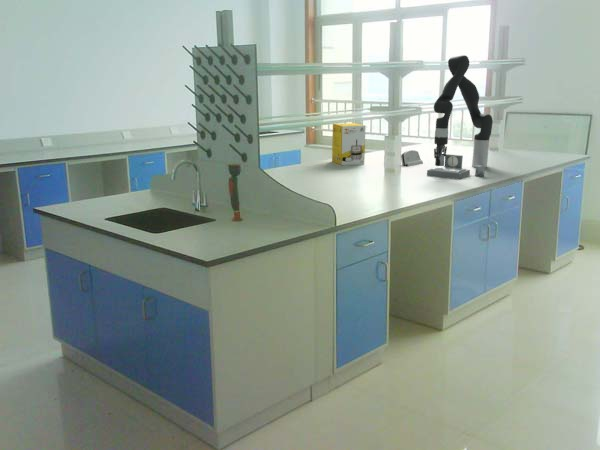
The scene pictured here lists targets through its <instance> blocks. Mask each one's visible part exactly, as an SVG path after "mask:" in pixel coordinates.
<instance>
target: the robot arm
mask: <svg viewBox="0 0 600 450" xmlns="http://www.w3.org/2000/svg"><path fill="white" fill-rule="evenodd" d="M447 65H448V70H449V72H450V73H451V75H452V77H450V78H449V80H448V81H447V82H446V83H445V85H444V87H443V90H442V92H441V94H440V95H439V96H438V98H437V99H436V101H435V102H434V104H433V111H434V113H437V114H443V116H441V117H437V118H436V121H435V130H434V141H433V143H434V144H435V145H436V147H435V148H434V149H433V153H434V154H433V156H434V157H433V158H434V159H435V160H436V165H437V166H439V165H440V157H441V155H445V156H446V154H447V149H448V146H446V145H448V144H449V143H448V141H449V123H450V121H449V120H450V118H451V114H452V111H453V109H454V108H453V107H454V106H453V103H452V100H453V99H454V97H455V94H456V91H457V89H458V88H459V90H460V93H461V96H462V97H463V98H462V99H463V100H464V102H465V104H466V107H467V109H468V112H469V115H470V119H471V122H472V125H473V126H474V127H475V128H477V129H479V130H480V131H479V132H478V133H476V134H474V136H473V150H472V151H473V152H472V159H471V160H472V162H471V163H472V164H471V166H472V167H474V168H476V165H483V166H485V168H487V167H488V161H489V160H488V158H489V148H490V147H489V146H490V137H491V135H492V129H493V116H492V115H491V114H489V113H482V112H481V111H480V108H479V102H480V101H479V100H480V93H479V91H478V88H477V86H476V85H475V84H474V83H473V82H472V81H471V80H470V79H469V78H467V77H466V76H465V75H466V73H467V71H468V69H469V67H470V60H469V57H468V56H467V55H465V54H464V55H463V54H461V55H457V56H452V57H450V58H449V59H448V62H447ZM445 156H444V157H445Z"/></svg>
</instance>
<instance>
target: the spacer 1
mask: <svg viewBox="0 0 600 450" xmlns="http://www.w3.org/2000/svg"><path fill="white" fill-rule="evenodd" d="M434 162H435V163H434V167H436V166H437V165H436V159H435V161H434ZM439 166H445V155H441V157H440V165H439Z"/></svg>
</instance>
